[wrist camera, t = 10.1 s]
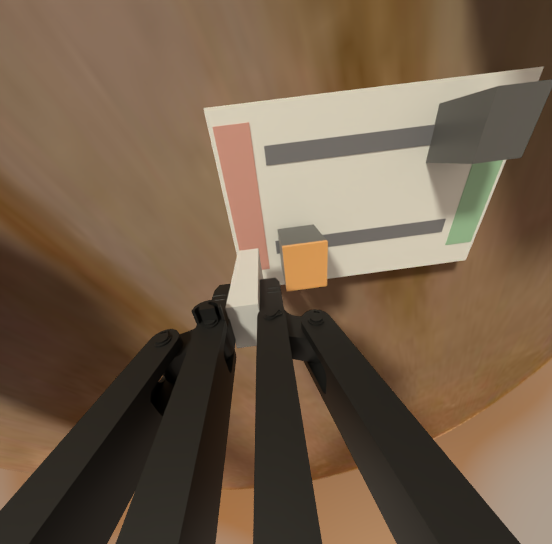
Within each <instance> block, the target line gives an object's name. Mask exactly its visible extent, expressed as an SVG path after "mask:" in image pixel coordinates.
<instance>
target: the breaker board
mask: <svg viewBox="0 0 552 544" xmlns="http://www.w3.org/2000/svg"><path fill="white" fill-rule="evenodd" d="M543 68H544V66H543V67H535V68H527V69H519V70H511V71H503V72H495V73H486V74H478V75H470V76H462V77H454V78H446V79H437V80H429V81H421V82H413V83H405V84H397V85H389V86H380V87H372V88H364V89H356V90H348V91H340V92H331V93H323V94H315V95H307V96H299V97H291V98H283V99H274V100H266V101H258V102H250V103H242V104H234V105H225V106H217V107H209V108H204V112H205V117H206V121H207V126H208V130H209V134H210V139H211V143H212V148H213V152H214V156H215V161H216V165H217V170H218V174H219V178H220V183H221V187H222V192H223V196H224V200H225V205H226V209H227V213H228V218H229V222H230V227H231V231H232V235H233V240H234V244H235V249H236V253H237V254H238V251H241V250H249V249H257V248H258V249H259V255H260V262H261V268H262V274H263V279H268V278H276V279H277V280H278V281H279V282H280V285H285V281H284V276H283V272H282V267H281V258H280V249H279V240H278V231H277V229H283V228H290V227H298V226H305V225H313V224H314V226H315V227H316V228H317V229H318V230H319V231H320V233H321V234H322V235H323V236H324V237H325V239H326V240H327V241H328V263H327V279H330V278H337V277H344V276H352V275H359V274H367V273H374V272H381V271H389V270H396V269H403V268H411V267H418V266H426V265H433V264H440V263H448V262H455V261H463V260H466V258H467V256H468V253H469V251H470V248H471V246H472V243H473V241H474V238H475V236H476V233H477V231H478V228H479V226H480V223H481V221H482V219H483V216H484V214H485V211H486V209H487V206H488V204H489V201H490V199H491V196H492V194H493V191H494V189H495V187H496V184H497V182H498V179H499V177H500V174H501V172H502V169H503V167H504V164H505V162H506V160H507V159H515V158H521V157H522V155H523V153H524V151H525V148H526V146H527V144H528V141H529V139H530V137H531V135H532V132H533V130H534V128H535V125H536V123H537V121H538V118H539V116H540V114H541V112H542V109H543V107H544V105H545V102H546V100H547V98H548V96H549V93H550V91H551V89H552V79H551V80H543V81H538V80H539V78H540V76H541V73H542V71H543Z"/></svg>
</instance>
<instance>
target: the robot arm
mask: <svg viewBox="0 0 552 544" xmlns="http://www.w3.org/2000/svg"><path fill="white" fill-rule="evenodd" d="M192 313H193V316H194V318H195V321H196V323H197V326H196V328H195V329H193V330H191V331H188V332H185V333H183V334H180V335H179V333H178V332H177V330H174V329H168V330H164V331H161V332H159V333H158V334H156V335H155V336H153V337H152V338H151V339H150V340H149V341H148V343H147V344H146V345H145V346H144V347H143V348H142V349H141V351H140V352H139V353H138V354H137V355H136V356H135V357H134V359H133V360H132V361H131V362H130V363H129V364H128V365H127V367H126V368H125V369H124V370H123V371H122V372H121V373H120V375H119V376H118V377H117V378H116V379H115V380H114V381H113V383H112V384H111V385H110V386H109V387H108V388H107V389H106V391H105V392H104V393H103V394H102V395H101V396H100V397H99V399H98V400H97V401H96V402H95V403H94V404H93V405H92V407H91V408H90V409H89V410H88V411H87V412H86V413H85V415H84V416H83V417H82V418H81V419H80V420H79V421H78V423H77V424H76V425H75V426H74V427H73V428H72V429H71V431H70V432H69V433H68V434H67V435H66V436H65V437H64V439H63V440H62V441H61V442H60V443H59V444H58V445H57V447H56V448H55V449H54V450H53V451H52V452H51V453H50V454H49V456H48V457H47V458H46V459H45V460H44V461H43V462H42V464H41V465H40V466H39V467H38V468H37V469H36V470H35V472H34V473H33V474H32V475H31V476H30V477H29V478H28V480H27V481H26V482H25V483H24V484H23V485H22V487H21V488H20V489H19V490H18V491H17V492H16V493H15V495H14V496H13V497H12V498H11V499H10V500H9V501H8V503H7V504H6V505H5V506H4V507H3V508H2V509H1V510H0V544H107V543H108V541H109V539H110V537H111V535H112V533H113V532H114V530H115V528H116V526H117V524H118V522H119V520H120V518H121V517H122V515H123V513H124V511H125V509H126V507H127V505H128V503H129V501H130V499H131V498H132V496H133V494H134V496H133V499H132V501H131V504H130V507H129V509H128V512H127V515H126V518H125V520H124V523H123V525H122V528H121V531H120V534H119V536H118V539H117V542H116V544H215V542H216V533H217V524H218V515H219V506H220V497H221V489H222V480H223V471H224V462H225V453H226V444H227V435H228V426H229V417H230V409H231V400H232V391H233V382H234V373H235V364H236V352H235V349H234V348H235V342H236V345H237V348H242V347H249V346H257V356H256V414H255V472H254V529H253V531H254V532H253V544H322V540H321V534H320V527H319V522H318V515H317V509H316V502H315V496H314V490H313V484H312V478H311V471H310V465H309V459H308V453H307V447H306V440H305V434H304V428H303V422H302V416H301V409H300V403H299V397H298V391H297V385H296V378H295V372H294V366H293V360H292V359H296V360H302V361H304V363H305V365H306V367H307V369H308V371H309V373H310V375H311V377H312V378H313V380H314V382H315V384H316V386H317V388H318V390H319V392H320V394H321V396H322V398H323V400H324V402H325V404H326V406H327V408H328V410H329V412H330V414H331V416H332V418H333V420H334V422H335V424H336V425H337V427H338V429H339V431H340V433H341V435H342V437H343V439H344V441H345V443H346V445H347V447H348V449H349V451H350V453H351V455H352V457H353V459H354V461H355V463H356V465H357V467H358V469H359V470H360V472H361V474H362V476H363V478H364V480H365V482H366V484H367V486H368V488H369V490H370V492H371V494H372V496H373V498H374V500H375V502H376V504H377V506H378V508H379V510H380V511H381V514H382V515H383V517H384V520H385V521H386V523H387V525H388V527H389V529H390V531H391V533H392V535H393V537H394V539H395V541H396V543H397V544H520V543H519V541H518V540H517V539H516V538H515V537H514V535H513V534H512V533H511V532H510V531H509V530H508V528H507V527H506V526H505V525H504V523H503V522H502V521H501V520H500V519H499V517H498V516H497V515H496V514H495V513H494V511H493V510H492V509H491V508H490V507H489V505H487V503H486V502H485V501H484V500H483V498H482V497H481V496H480V495H479V494H478V492H477V491H476V490H475V489H474V488H473V486H472V485H471V484H470V483H469V482H468V480H467V479H466V478H465V477H464V476H463V474H462V473H461V472H460V471H459V470H458V468H457V467H456V466H455V465H454V464H453V462H451V460H450V459H449V458H448V457H447V455H446V454H445V453H444V452H443V451H442V449H441V448H440V447H439V446H438V445H437V444H436V442H435V441H434V440H433V439H432V437H431V436H430V435H429V434H428V433H427V431H426V430H425V429H424V428H423V427H422V425H421V424H420V423H419V422H418V421H417V419H416V418H415V417H414V416H413V415H412V414H411V412H410V411H409V410H408V409H407V408H406V406H405V405H404V404H403V403H402V402H401V400H400V399H399V398H398V397H397V396H396V394H395V393H394V392H393V391H392V390H391V388H390V387H389V386H388V385H387V384H386V382H385V381H384V380H383V379H382V378H381V376H380V375H379V374H378V373H377V372H376V370H375V369H374V368H373V367H372V366H371V365H370V363H369V362H368V361H367V360H366V359H365V357H364V356H363V355H362V354H361V353H360V351H359V350H358V349H357V348H356V347H355V345H354V344H353V343H352V342H351V341H350V339H349V338H348V337H347V336H346V335H345V333H344V332H343V331H342V330H341V329H340V327H339V326H338V325H337V324H336V323H335V322H334V320H333V319H332V318H331V317H330V316H329V315H328V314H327V313H326V312H324V311H321V310H309V311H307V312H305V313H304V314H303V315H302V317H300V316H294V315H291V314H289V313H287V312H286V311H285V310H284V307H283V301H282V295H281V289H280V282H279V281H278V280H277V279H276V278H268V279H263V274H262V268H261V262H260V255H259V249H258V248H257V249H249V250H241V251H238V254H237V259H236V263H235V268H234V272H233V277H232V281H231V284H225V285H219V287H218V288H217V289H216V290H215V291H214V294H213V297H212V300H208V301H204V302H202V303H200V304H198V305H197V306H195V307H194V308H193V310H192ZM162 375H163V378H162V379H161V380H160V381H159V379H160V378H161V376H162ZM158 381H159V382H158ZM134 492H135V493H134Z"/></svg>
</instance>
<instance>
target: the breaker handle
mask: <svg viewBox="0 0 552 544" xmlns="http://www.w3.org/2000/svg"><path fill="white" fill-rule="evenodd" d="M277 231H278V240H279V249H280V258H281V267H282V272H283V276H284V281H285V285H286V290H287V291H293V290H301V289H308V288H316V287H323V286H327V263H328V241H327V240H326V239H325V237H324V236H323V235H322V234H321V233H320V231H319V230H318V229H317V228H316V227H315V226H314V224H313V225H305V226H298V227H290V228H283V229H277Z"/></svg>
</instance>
